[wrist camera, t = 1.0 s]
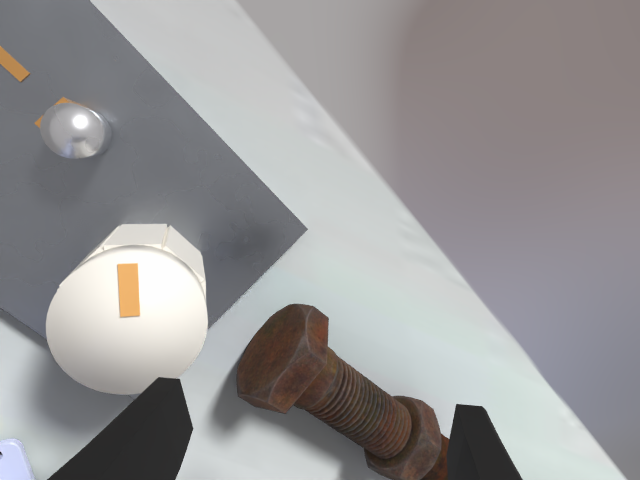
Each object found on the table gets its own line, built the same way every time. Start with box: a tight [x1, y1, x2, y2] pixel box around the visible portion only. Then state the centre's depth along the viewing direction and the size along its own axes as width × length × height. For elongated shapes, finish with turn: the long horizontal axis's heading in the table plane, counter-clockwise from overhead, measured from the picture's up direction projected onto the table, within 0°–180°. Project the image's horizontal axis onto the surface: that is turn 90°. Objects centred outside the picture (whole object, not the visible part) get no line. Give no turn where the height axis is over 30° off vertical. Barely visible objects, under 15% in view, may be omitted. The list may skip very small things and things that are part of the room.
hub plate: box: [0, 0, 308, 400], centre depth 18 cm, size 16×12×4 cm
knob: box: [46, 224, 208, 395], centre depth 17 cm, size 5×5×6 cm
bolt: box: [237, 304, 449, 480], centre depth 24 cm, size 6×5×15 cm
